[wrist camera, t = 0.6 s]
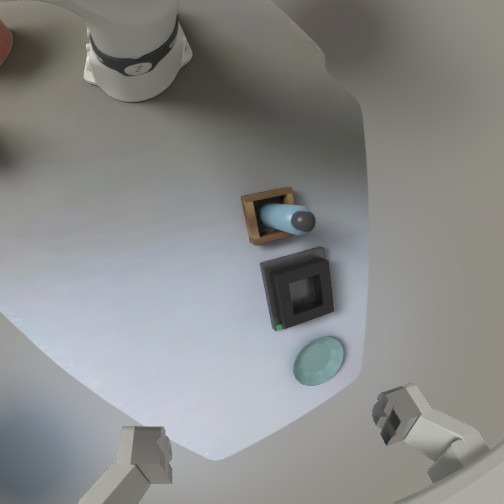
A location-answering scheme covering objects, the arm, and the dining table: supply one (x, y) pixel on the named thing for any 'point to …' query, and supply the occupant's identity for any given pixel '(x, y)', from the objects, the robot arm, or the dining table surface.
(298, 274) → the port
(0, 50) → the canned food
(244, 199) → the wooden square frame
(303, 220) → the blue bottle
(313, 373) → the saucer
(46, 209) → the dining table surface
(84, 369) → the dining table surface
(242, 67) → the dining table surface
